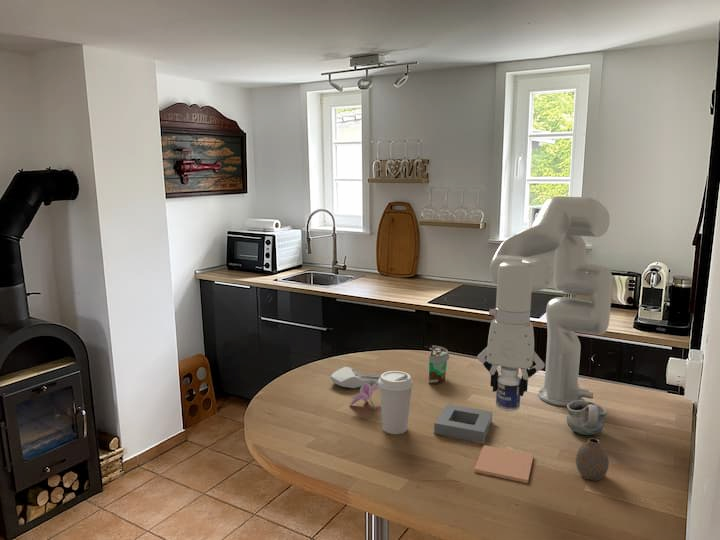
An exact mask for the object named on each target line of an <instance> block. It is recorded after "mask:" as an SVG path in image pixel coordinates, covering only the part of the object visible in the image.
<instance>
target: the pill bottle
mask: <svg viewBox="0 0 720 540" xmlns="http://www.w3.org/2000/svg"><path fill="white" fill-rule="evenodd" d="M519 369H520V368H512V367H505V366H500V374H498V377H497V390H496V391H495V392H496V395H495V396H496V397H495V406H496V408H497V409H499V410H500V411H503V412H511V413H512V412H517V411H518V410H519V409H520V406H521V395H520V381H521V377H520V376H519V374H520V373H519Z"/></svg>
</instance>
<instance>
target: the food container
mask: <svg viewBox="0 0 720 540" xmlns="http://www.w3.org/2000/svg"><path fill="white" fill-rule="evenodd" d="M428 359H429V360H428V365H429V366H428V385H431V386H432V385H439V384H440V385H441V384H443V383H445V380H446V375H447V374H446V373H447V365H448V364H447V363H448V360H449V359H450V354H449V351H448V349H447V348H445V347H443V346H439V345H431V352H430V356H429V357H428Z"/></svg>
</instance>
